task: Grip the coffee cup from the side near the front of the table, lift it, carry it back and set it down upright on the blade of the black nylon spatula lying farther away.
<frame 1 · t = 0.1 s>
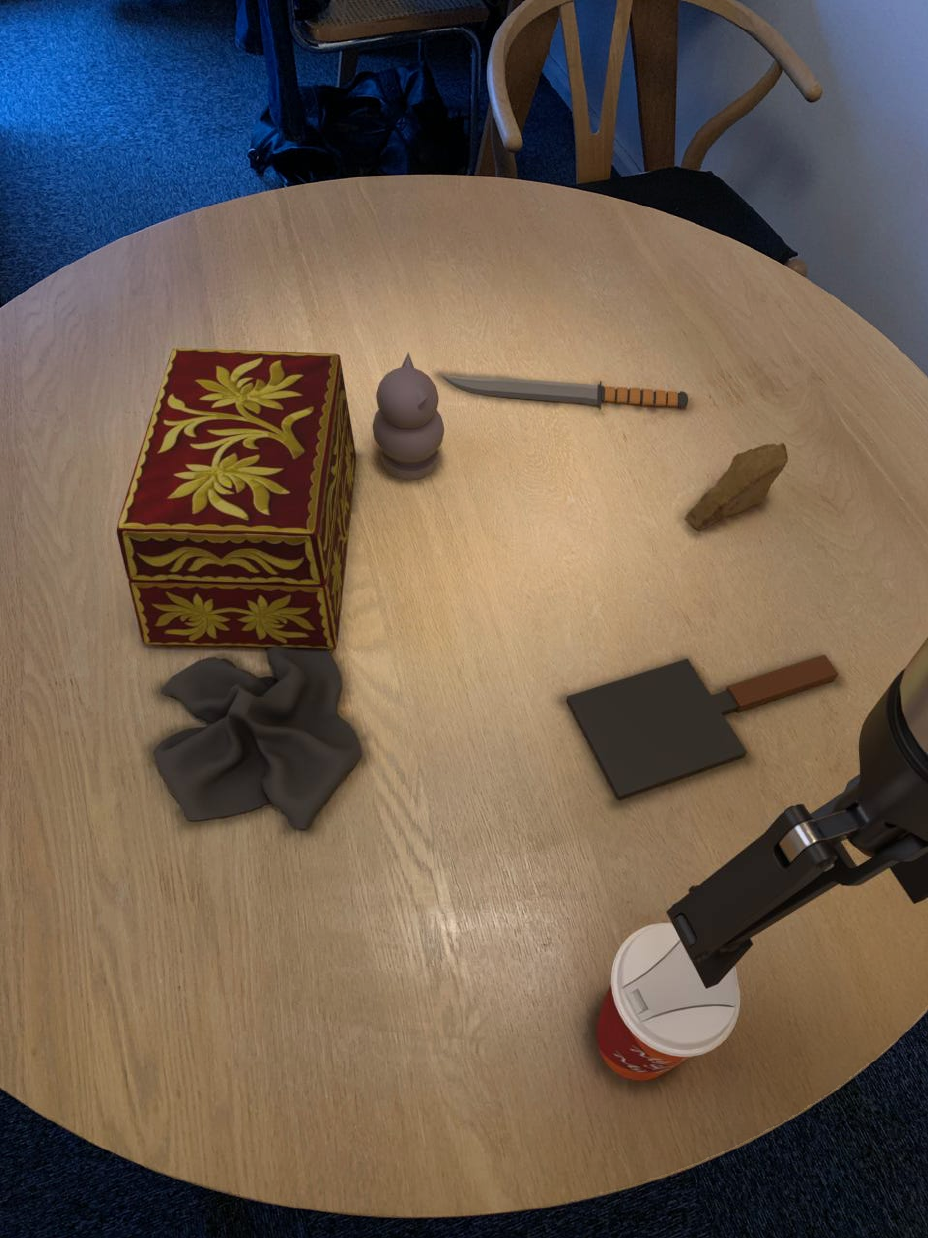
hand: (805, 920, 52), 24 cm above the table, tool pointing down, fingers open, 13 cm apart
coffee cup: (635, 1038, 71), on the table
cloth: (260, 721, 86), on the table, touching decorative box
spatula: (653, 728, 87), on the table
knife: (562, 396, 115), on the table
decorative box: (259, 543, 98), on the table, touching cloth
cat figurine: (408, 460, 107), on the table
rock: (722, 506, 105), on the table
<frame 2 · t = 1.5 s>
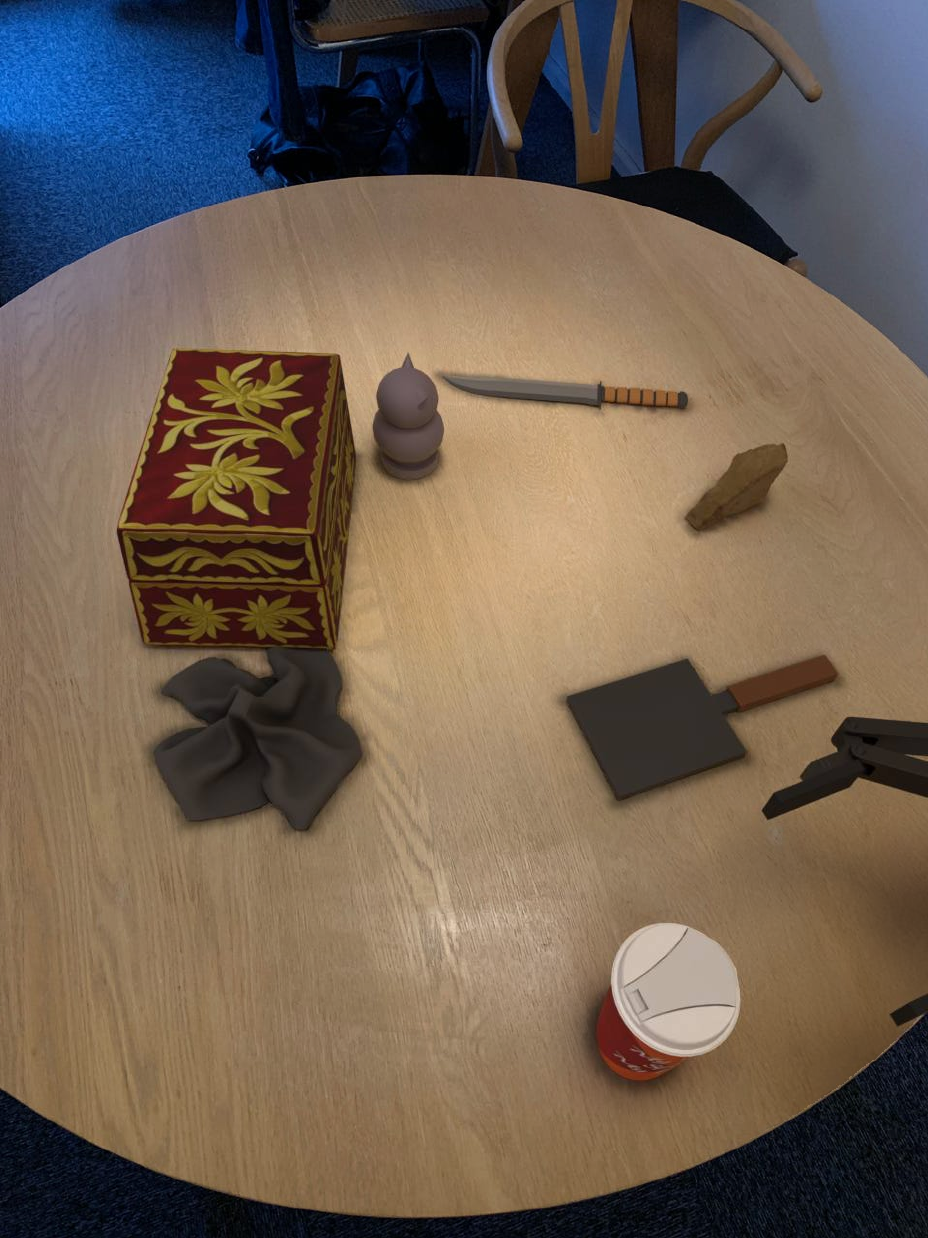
hand: (831, 904, 56), 20 cm above the table, tool horizontal, fingers open, 13 cm apart
nothing on the table moved.
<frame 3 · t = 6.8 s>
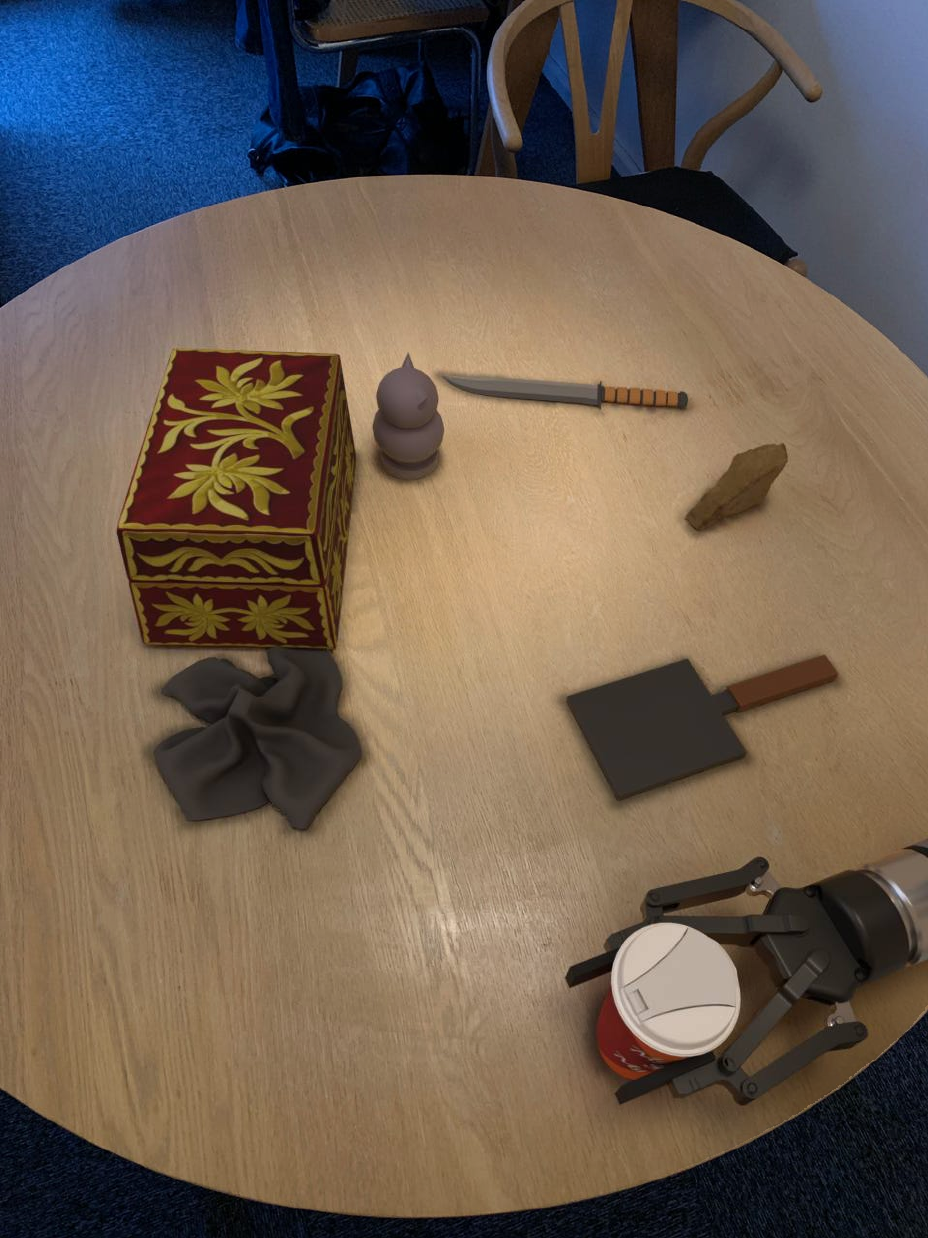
hand: (594, 1034, 62), 8 cm above the table, tool horizontal, fingers closed on coffee cup, 7 cm apart
coffee cup: (635, 1038, 71), on the table, touching gripper
everything else where it was.
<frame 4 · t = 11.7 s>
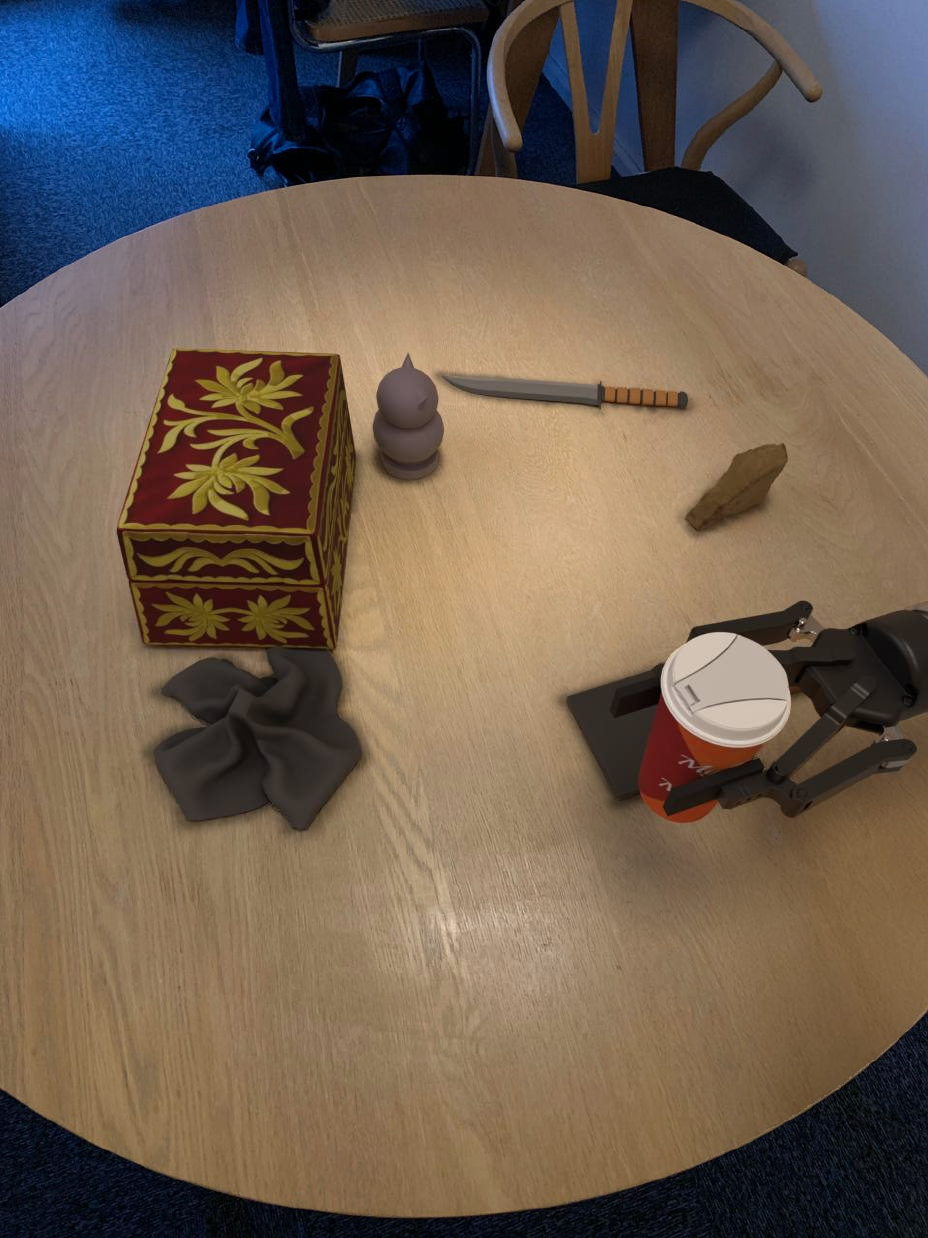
hand: (641, 751, 62), 20 cm above the table, tool horizontal, fingers closed on coffee cup, 7 cm apart
coffee cup: (677, 787, 70), point 12 cm above the table, touching gripper
everything else where it was.
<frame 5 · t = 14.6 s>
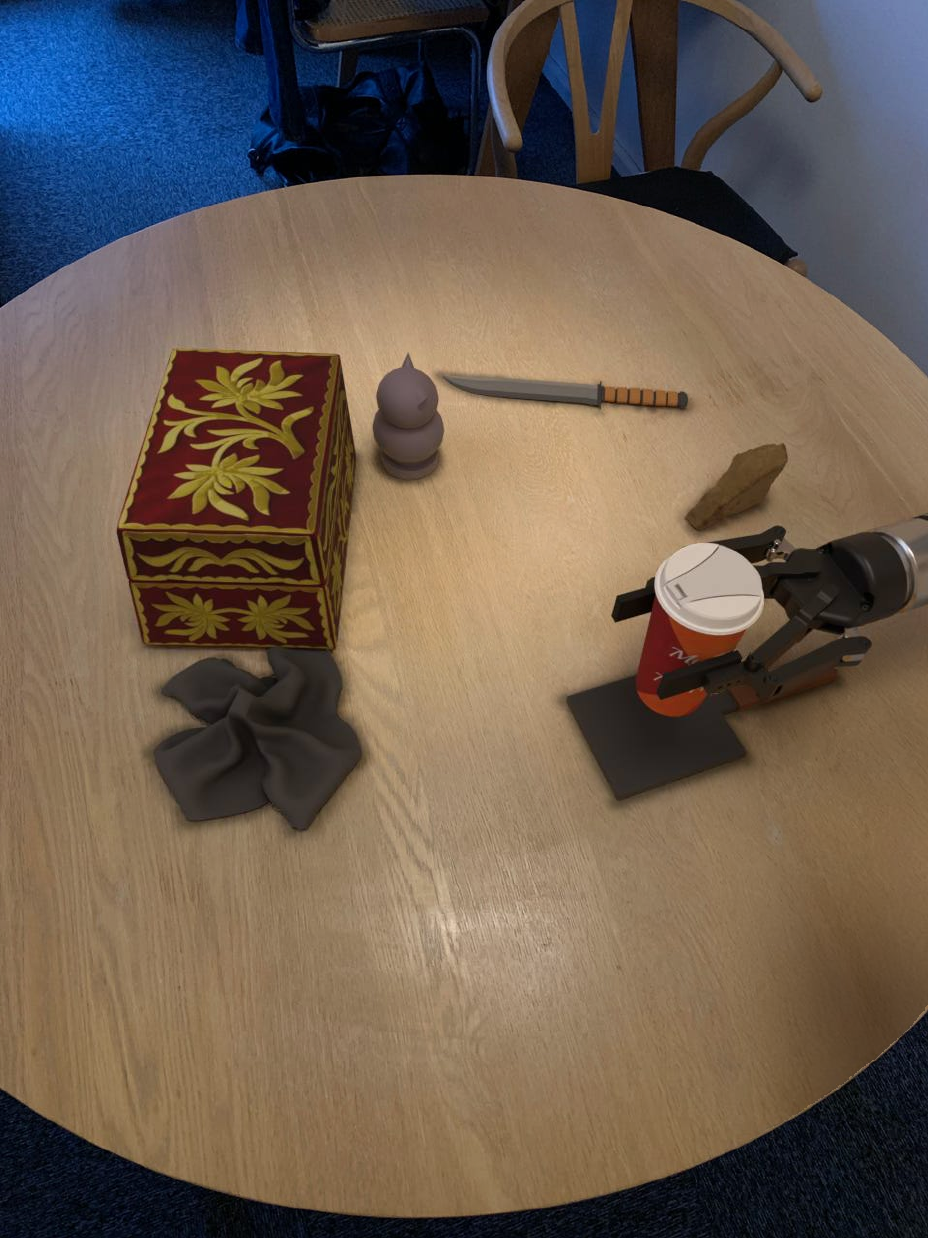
hand: (638, 647, 73), 15 cm above the table, tool horizontal, fingers closed on coffee cup, 7 cm apart
coffee cup: (669, 688, 81), point 7 cm above the table, touching gripper
everything else where it was.
when the fingers open (9 cm above the table, at t = 16.7 s): coffee cup stays where it is, resting on spatula.
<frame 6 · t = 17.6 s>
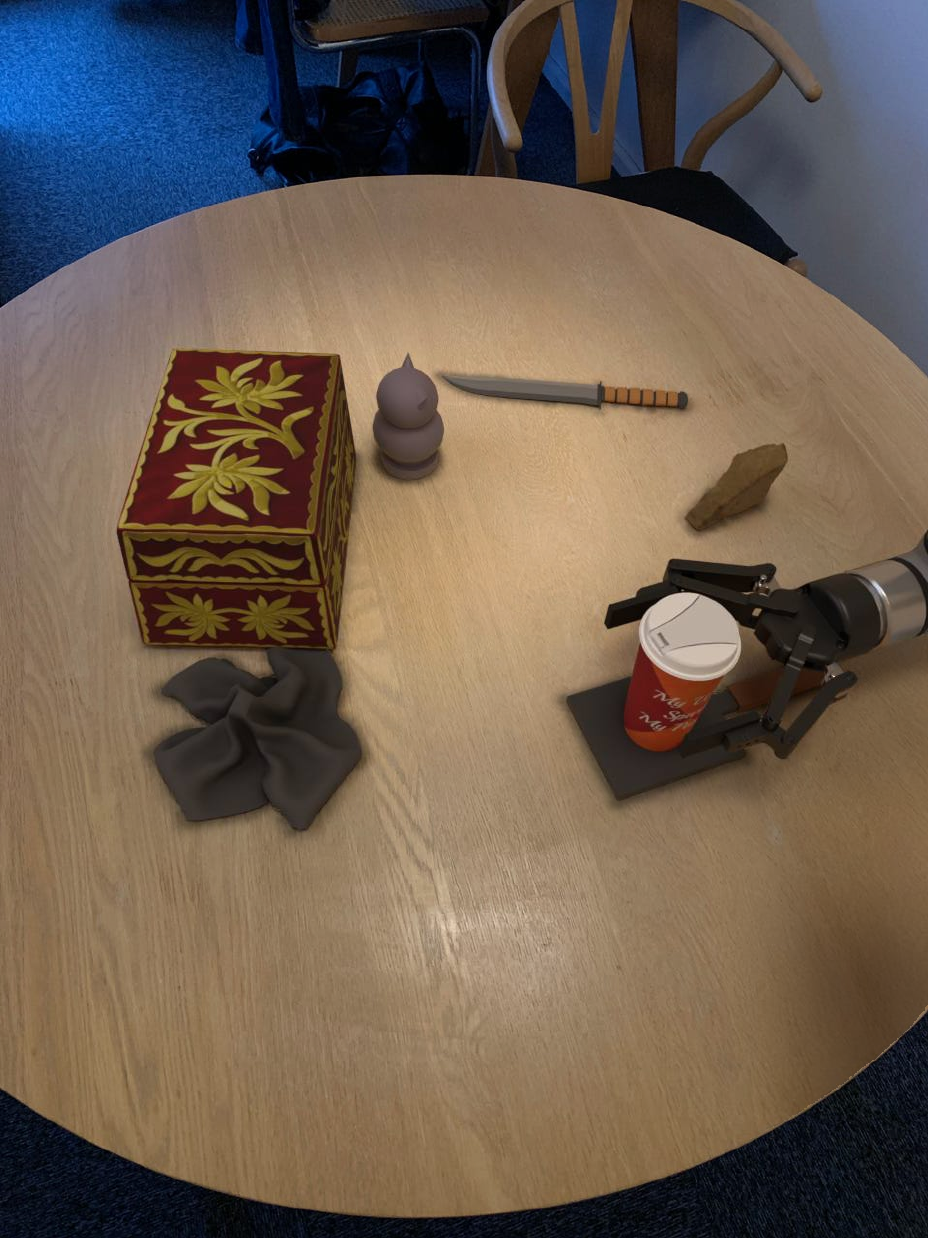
hand: (643, 678, 78), 10 cm above the table, tool horizontal, fingers open, 13 cm apart
coffee cup: (655, 724, 86), point 1 cm above the table, touching spatula
everything else where it was.
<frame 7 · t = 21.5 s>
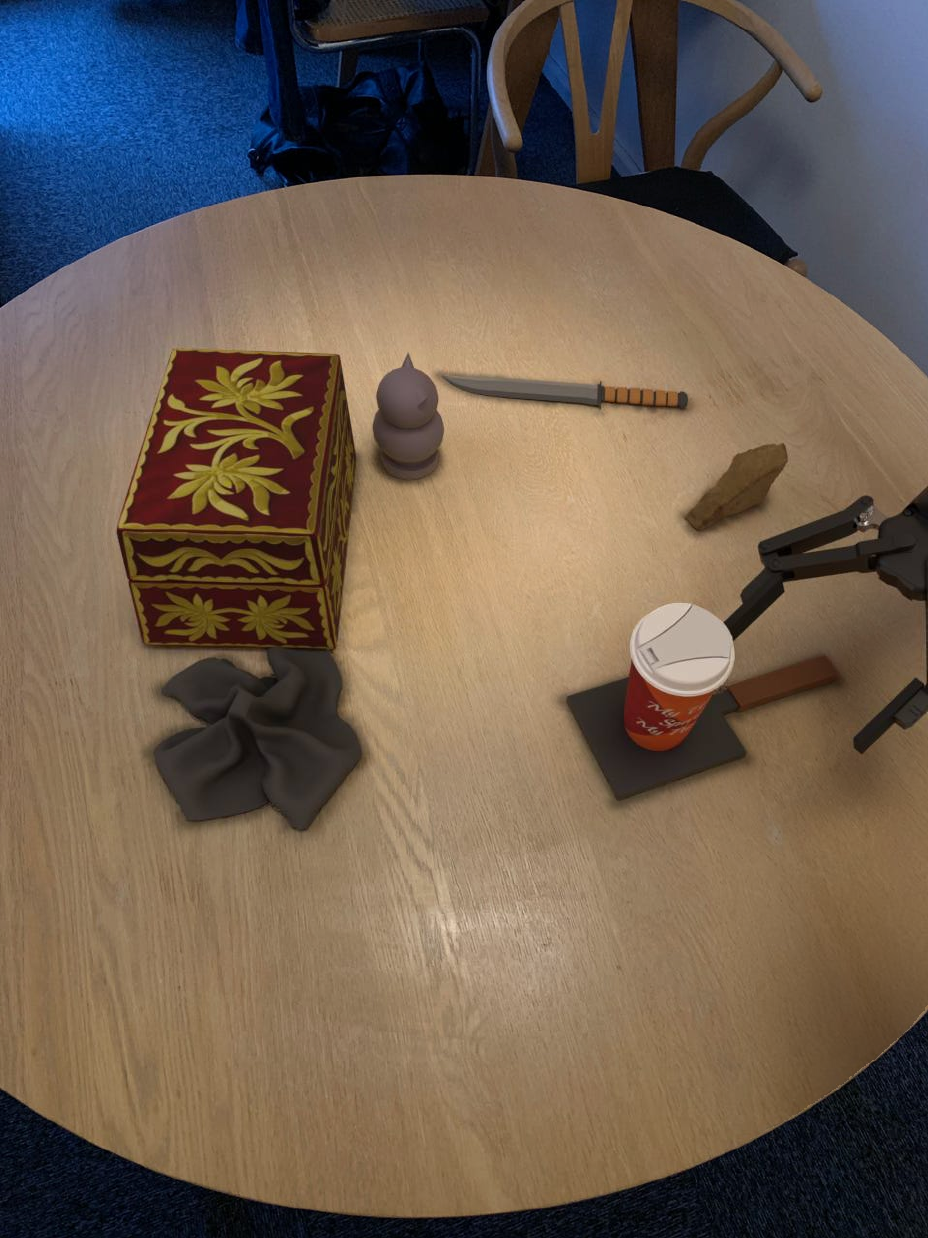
hand: (786, 689, 74), 13 cm above the table, tool tilted 65°, fingers open, 13 cm apart
coffee cup: (656, 722, 86), point 1 cm above the table, touching gripper, spatula
everything else where it was.
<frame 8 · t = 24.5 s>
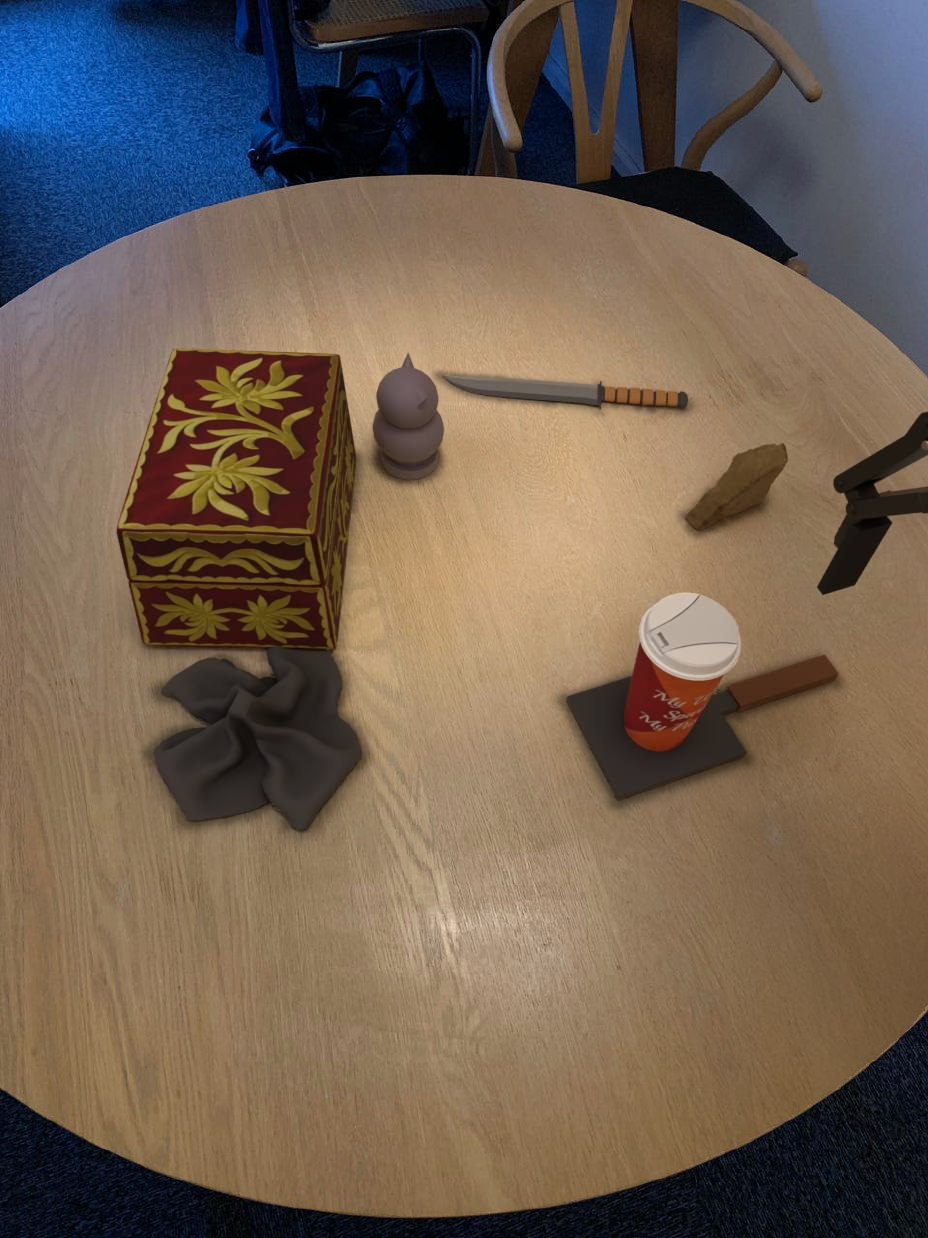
hand: (894, 662, 62), 25 cm above the table, tool pointing down, fingers open, 13 cm apart
coffee cup: (655, 724, 86), point 1 cm above the table, touching spatula
everything else where it was.
at the end: coffee cup inside the target area on the spatula (0.1 cm from its centre), point 0.6 cm above the spatula's base; coffee cup tilted 0°; the gripper is holding nothing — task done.
